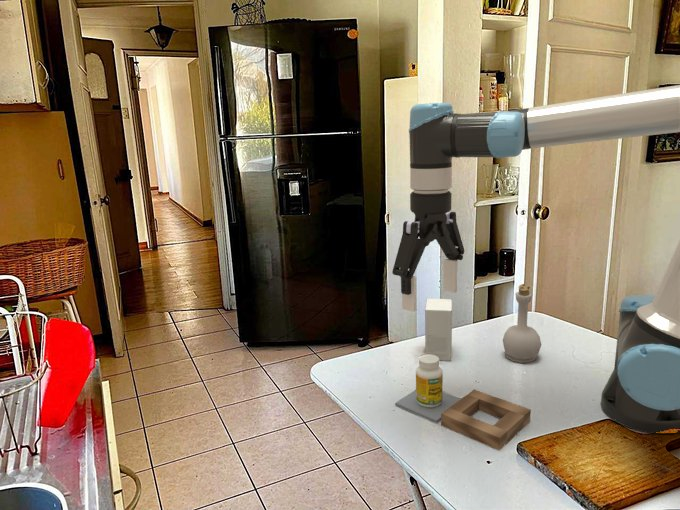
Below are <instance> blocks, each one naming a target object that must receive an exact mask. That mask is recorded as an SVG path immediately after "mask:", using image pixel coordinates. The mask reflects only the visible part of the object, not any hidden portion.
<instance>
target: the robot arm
mask: <svg viewBox="0 0 680 510" xmlns="http://www.w3.org/2000/svg"><path fill="white" fill-rule="evenodd" d="M673 133H674V134H675V133H680V84H678V85H671V86H664V87H657V88H651V89H645V90H639V91H631V92H626V93H625V92H624V93H618V94H611V95H605V96H598V97H591V98H585V99H579V100H578V99H577V100H572V101H565V102H560V103H559V102H558V103H553V104H544V105H539V106H533V107H527V108H519V109H512V110H499V111H491V112H490V111H487V112H471V113H454V110H453V105H452V103H450V102H435V103H433V102H432V103H431V102H429V103H417V104H414V105H413V106H412V107H411V108H410V112H409V129H408V134H409V135H408V136H409V137H408V138H409V163H410V164H409V168H410V170H409V171H410V172H409V174H410V180H409V184H410V186H409V187H410V189H411V190H412V191H411V193H410V194H409V199H410V200H409V204H410V205H409V206H410V207H409V208H410V212H411V213H413V214H414V220H413V221H406V220H405V221H404V222H403V224H402V235H401V238H400V242H399V246H398V250H397V254H396V257H395V260H394V265H393V267H392V272H391V274H392V275H393V276H397V277H399V278H400V292H401V303H402V304H401V307H402V310H406V311H410V312H413V313H414V312H418V311H417V310H418V309H417V307H418V305H417V302H418V301H417V299H418V298H417V276H414V275H415V272H416V270H417V267H418V265H419V263H420V261H421V258H422V256H423V254H424V251H425V249H426V247H428V246H429V245H430V243H431V242H434V241H435V240H436V242H437V243H438V245H439V247H440V249H441V251H442V252H443V254H444V256H445V258H444V259H443V261H442V262H443V263H442V265H443V269H442V270H443V274H442V275H443V276H442V277H443V281H442V282H443V284H442V287H443V288H442V290H443V291H444V292H445V291H446V292H449V293H454V294H455V293H457V292H458V260H459V261H462V260H463V258H464V254H465V248H464V243H463V240H462V237H461V233H460V230H459V226H458V223H457V212H456V211H451V210H452V192H451V191H450V189H451V188H452V187H453V177H452V176H453V158H457V159H459V158H496V159H502V158H513V157H514V158H515V157H517V156H518V157H519V155H520V154H521V153H522V151H523V150H525V151H526V150H530V149H531V150H532V149H540V148H546V147H554V146H555V147H556V146H566V145H574V144H575V145H576V144H583V143H584V144H585V143H590V142H591V143H593V142H601V141H610V140H619V139H627V138H637V137H648V136H654V135H655V136H656V135H663V134H666V135H667V134H673ZM677 242H678V243H677V246H676V247H675V249H674V252H673V253H672V254H673V255H672V257H671V258H670V261H669V263H668V265H667V267H666V270H665V272H664V275H663V276H662V279H661V281H660V284H659V285H658V287H657V291H656V293H655V295H649V294H648V295H647V294H635V295H627V296H625V297H623V299H622V300H621V302H620V308H619V309H618V312H619V318H618V326H617V327H618V328H617V338H616V348H615V349H616V350H615V355H614V357H615V358H614V369H613V371H612V372H611V374H610V377H609V378H608V380H607V382H606V384H605V386H604V388H603V390H602V392H601V396H600V397H601V399H600V406H601V407H600V408H601V409H602V411H603V412H604V414H605V415H607V416H608V417H609V418H611V419H612V420H613V421H614V422H617V424H618V423H619V424H620V425H623V426H625V427H628V428H630V429H633V430H636V431H640V432H644V433H648V434H655V433H656V432H660V431H664V430H668V429H674V428H680V239H679V240H678V241H677Z"/></svg>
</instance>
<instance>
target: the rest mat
mask: <svg viewBox="0 0 680 510" xmlns="http://www.w3.org/2000/svg"><path fill="white" fill-rule="evenodd" d="M442 392H443V395H442V403H441V404H440V405H439V406H437V407H431V408H428V407H424V406H421V405H419V404H418V403H417V401H416V389H415V390H412V392H410V393H409V394H407V395H405V396H403V397H402V398H400V399H399V400H397V401H396V402H394V406H395V407H398V408H400V409H403V410H405V411H407V412H410V413H411V414H414V415H416V416H419V417H421V418H422V419H423V418H424V419H425V420H428V421H430V422H433V423H435V424H438V423H439V422H441V413H443V412H444V411H445V410H447V409H448V408H449V407H451V406H452V405H453V404H455V403H456V402H457V401H459V400H460V399H462V398H461V397H458V396H455V395H453V394H451V393H448V392H445V391H442Z"/></svg>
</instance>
